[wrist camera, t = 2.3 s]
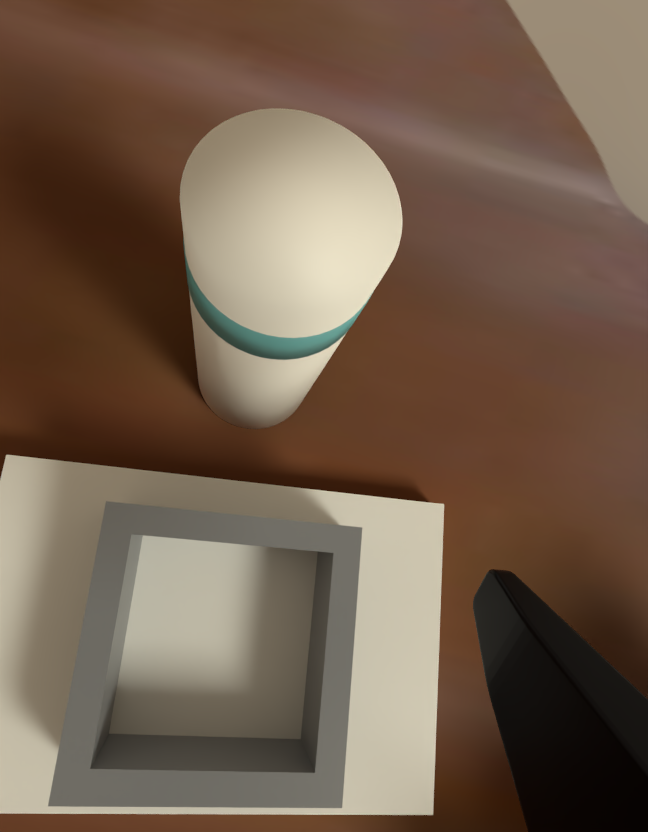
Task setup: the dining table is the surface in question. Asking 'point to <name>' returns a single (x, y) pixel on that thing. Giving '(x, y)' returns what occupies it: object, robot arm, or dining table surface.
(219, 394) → the teal-banded cream cylinder
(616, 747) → the robot arm
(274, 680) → the jig
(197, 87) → the dining table surface
